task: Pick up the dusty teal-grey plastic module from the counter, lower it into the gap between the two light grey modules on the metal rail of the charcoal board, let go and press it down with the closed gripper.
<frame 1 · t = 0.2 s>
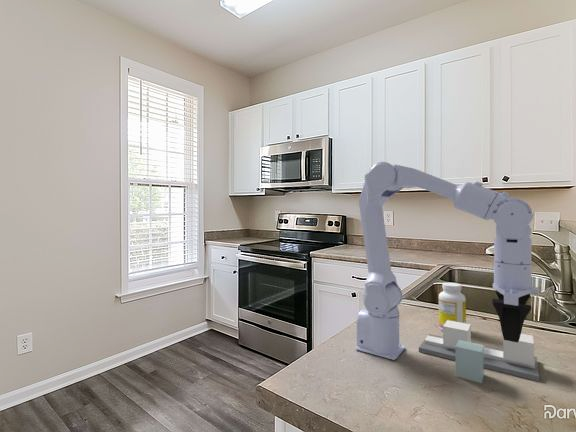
hand: (511, 333, 59), 10 cm above the worktop, fingers open, 7 cm apart
supplement bottle: (452, 331, 86), on the worktop
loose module: (469, 375, 62), on the worktop
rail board: (475, 356, 70), on the worktop
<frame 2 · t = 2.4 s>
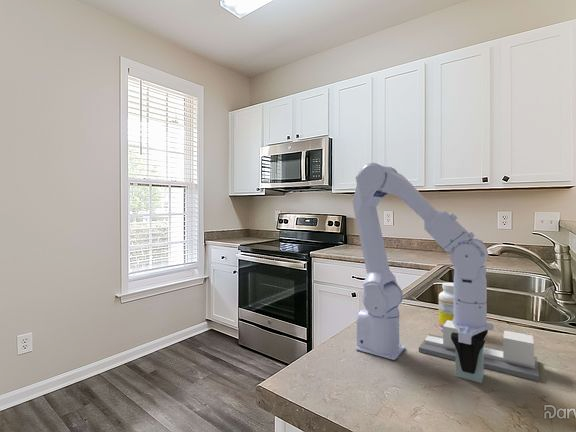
hand: (469, 367, 62), 2 cm above the worktop, fingers closed on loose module, 4 cm apart
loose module: (469, 375, 62), on the worktop, touching gripper
everything else where it was.
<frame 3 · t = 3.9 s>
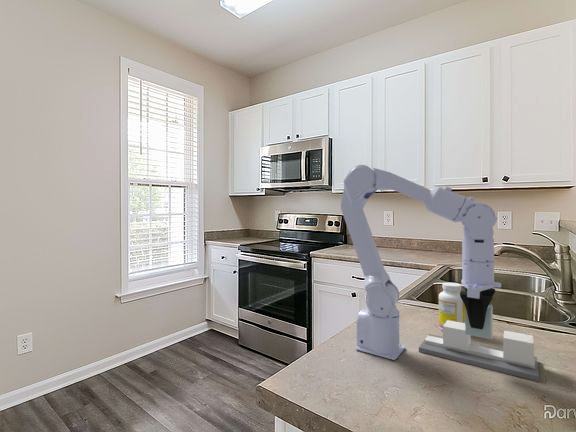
hand: (478, 324, 65), 9 cm above the worktop, fingers closed on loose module, 4 cm apart
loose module: (479, 333, 65), point 7 cm above the worktop, touching gripper
everything else where it was.
when the fingers open (5 cm above the worktop, at t = 5.8 s): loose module stays where it is, resting on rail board.
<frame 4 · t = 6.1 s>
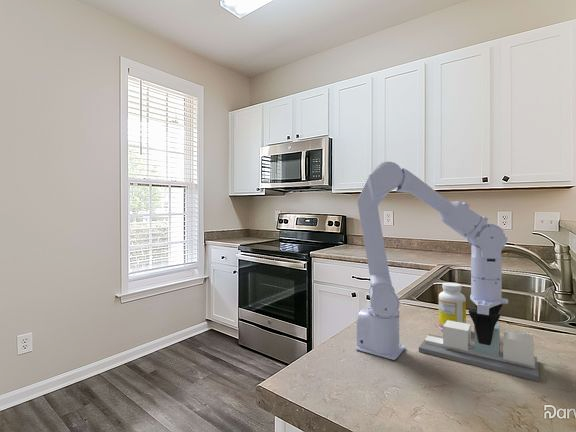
hand: (486, 338, 69), 5 cm above the worktop, fingers open, 7 cm apart
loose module: (487, 351, 69), point 2 cm above the worktop, touching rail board
everything else where it was.
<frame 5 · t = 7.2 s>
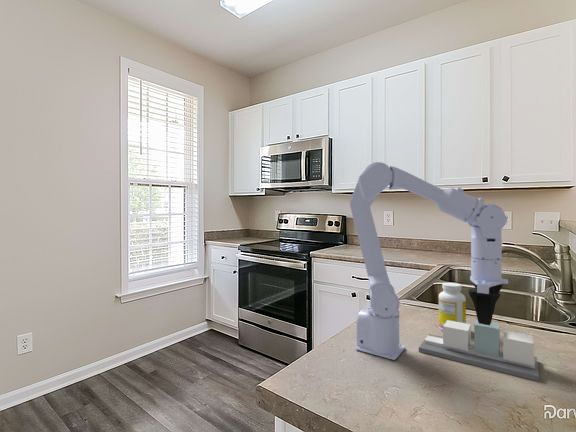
hand: (486, 319, 69), 9 cm above the worktop, fingers open, 7 cm apart
nothing on the worktop moved.
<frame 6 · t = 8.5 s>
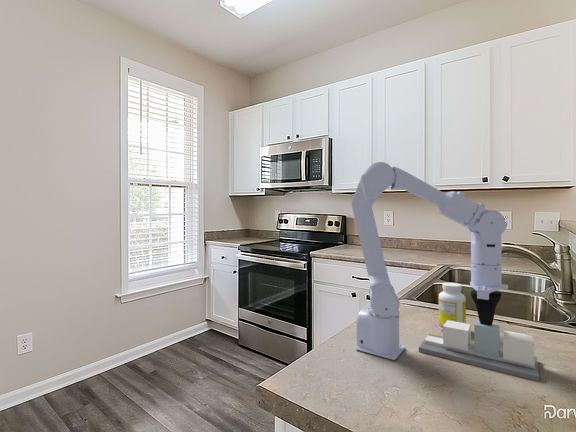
hand: (486, 324, 69), 8 cm above the worktop, fingers closed, pressing on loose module
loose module: (487, 351, 69), point 2 cm above the worktop, touching gripper, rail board
everything else where it was.
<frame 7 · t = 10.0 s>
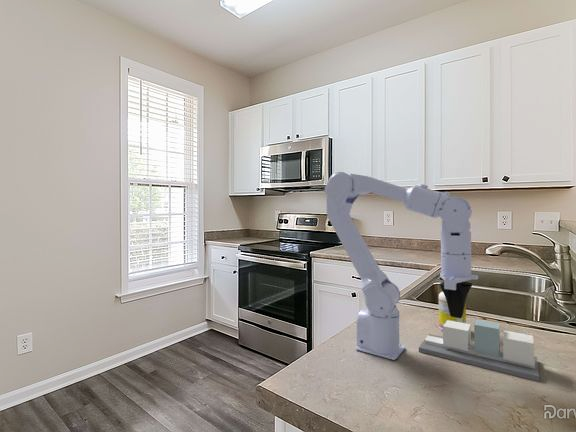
hand: (456, 316, 66), 10 cm above the worktop, fingers closed
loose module: (487, 351, 69), point 2 cm above the worktop, touching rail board
everything else where it was.
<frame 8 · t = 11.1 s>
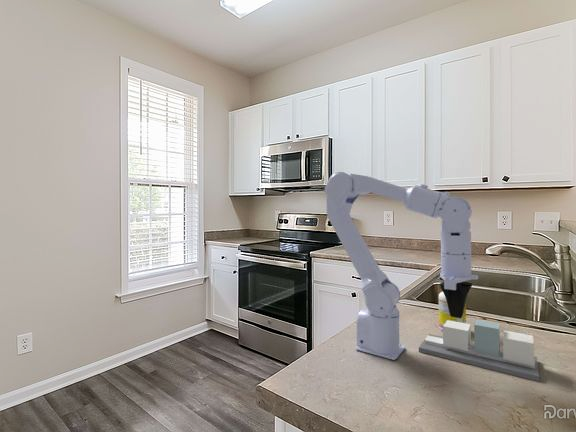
hand: (456, 316, 66), 10 cm above the worktop, fingers closed
nothing on the worktop moved.
at the end: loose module 0.2 cm from the target spot on the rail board, point 1.8 cm above the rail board's base; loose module tilted 0°; the gripper is holding nothing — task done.
